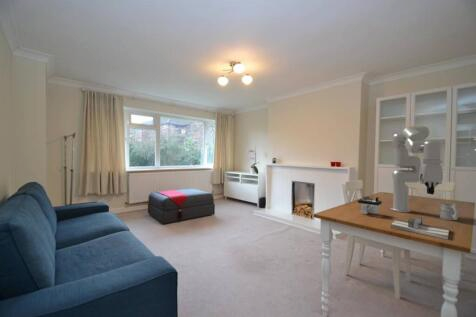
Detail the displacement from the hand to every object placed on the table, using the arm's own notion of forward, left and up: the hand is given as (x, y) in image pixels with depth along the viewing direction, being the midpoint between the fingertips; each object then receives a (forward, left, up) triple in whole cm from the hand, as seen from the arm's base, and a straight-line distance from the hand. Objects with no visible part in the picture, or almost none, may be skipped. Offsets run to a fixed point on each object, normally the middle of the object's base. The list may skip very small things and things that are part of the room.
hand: (430, 193), depth 130 cm
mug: (-36, +7, -22) cm, 42 cm away
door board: (+2, -4, -21) cm, 22 cm away
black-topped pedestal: (-13, -35, -22) cm, 43 cm away
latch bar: (+4, -5, -19) cm, 20 cm away
